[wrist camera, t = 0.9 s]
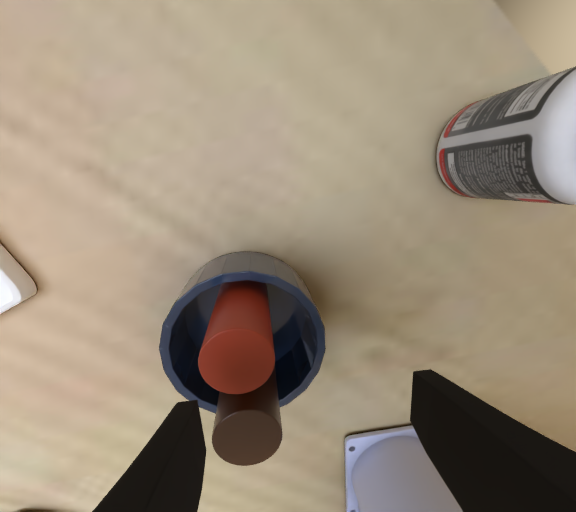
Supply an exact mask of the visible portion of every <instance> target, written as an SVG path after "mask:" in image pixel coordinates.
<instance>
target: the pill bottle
mask: <svg viewBox="0 0 576 512" xmlns="http://www.w3.org/2000/svg"><path fill="white" fill-rule="evenodd" d="M436 159H437V167H438V171H439V174H440V176H441V178H442V180H443V182H444V183H445V184H446V185H447V187H449V188H450V189H451V190H452V191H454V192H455V193H457V194H459V195H462V196H466V197H472V198H486V199H501V200H514V201H528V202H540V203H554V204H568V205H576V67H573V68H570V69H567V70H565V71H562V72H559V73H556V74H553V75H550V76H548V77H545V78H542V79H539V80H536V81H534V82H531V83H528V84H525V85H522V86H519V87H517V88H514V89H511V90H508V91H506V92H503V93H500V94H497V95H494V96H491V97H489V98H486V99H483V100H480V101H477V102H475V103H473V104H470V105H468V106H467V107H465V108H463V109H462V110H460V111H459V112H458V113H457V114H456V115H455V116H454V117H453V118H452V119H451V120H450V121H449V122H448V124H447V125H446V127H445V129H444V130H443V132H442V134H441V137H440V140H439V143H438V147H437V156H436Z"/></svg>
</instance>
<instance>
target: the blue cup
mask: <svg viewBox="0 0 576 512" xmlns="http://www.w3.org/2000/svg"><path fill="white" fill-rule="evenodd" d="M245 280H252V281H257V282H262V283H266V286H267V292H268V301H269V309H270V318H271V327H272V335H273V344H274V353H275V371H276V380H277V389H278V399H279V408H280V407H282V406H284V405H287V404H288V403H290V402H291V401H292V400H293V399H295V398H296V397H297V396H299V395H300V394H301V393H302V392H304V391H305V389H307V387H308V386H309V385H310V383H311V382H312V380H313V379H314V377H315V376H316V375H317V373H318V371H319V369H320V366H321V363H322V360H323V356H324V353H325V349H326V348H325V328H324V325H323V322H322V320H321V318H320V315H319V313H318V310H317V308H316V306H315V304H314V302H313V299H312V297H311V295H310V293H309V291H308V289H307V287H306V285H305V283H304V282H303V281H302V279H301V278H300V276H299V275H298V274H297V273H296V272H295V271H294V270H293V269H292V268H291V267H290V266H289V265H287V264H286V263H284V262H283V261H281V260H279V259H277V258H275V257H273V256H270V255H267V254H263V253H259V252H235V253H230V254H226V255H223V256H220V257H218V258H216V259H214V260H212V261H210V262H209V263H207V264H205V265H204V266H203V267H202V268H200V269H199V270H198V271H197V272H196V273H195V274H194V275H193V277H191V279H190V280H189V282H188V283H187V285H186V286H185V288H184V289H183V291H182V292H181V294H180V296H179V297H178V299H177V300H176V302H175V303H174V305H173V307H172V309H171V310H170V312H169V314H168V316H167V318H166V319H165V321H164V323H163V325H162V332H161V338H160V345H159V350H160V355H161V359H162V364H163V369H164V371H165V373H166V375H167V377H168V378H169V380H170V381H171V383H172V384H173V386H174V387H175V389H176V390H177V391H178V392H179V393H180V394H181V395H183V396H184V397H185V398H186V399H188V400H189V401H192V400H198V406H199V407H200V408H203V409H205V410H208V411H210V412H213V413H215V414H216V410H217V404H218V398H219V392H220V391H218V390H216V389H214V388H212V387H211V386H210V385H209V384H208V383H207V382H206V381H205V380H204V379H203V377H202V375H201V373H200V370H199V366H198V357H199V353H200V350H201V347H202V343H203V340H204V337H205V334H206V331H207V328H208V324H209V321H210V318H211V315H212V312H213V308H214V305H215V302H216V299H217V296H218V293H219V289H220V286H221V284H222V283H226V282H235V281H245Z"/></svg>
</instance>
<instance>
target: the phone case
mask: <svg viewBox="0 0 576 512" xmlns="http://www.w3.org/2000/svg"><path fill="white" fill-rule="evenodd" d="M36 292H37V288H36V285H35V283H34V281H33V280H32V278H31V277H30V276H29V275H28V274H27V272H26V271H25V270H24V269H23V268H22V267H21V266H20V265H19V264H18V262H17V261H16V260H15V259H14V258H13V257H12V256H11V255H10V254H9V252H8V251H7V250H6V249H5V248H4V247H3V246H2V245H1V244H0V314H2V313H4V312H5V311H7V310H9V309H10V308H12V307H14V306H16V305H17V304H19V303H21V302H23V301H24V300H26V299H28V298H30V297H31V296H33V295H35V294H36Z"/></svg>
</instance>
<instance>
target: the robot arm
mask: <svg viewBox="0 0 576 512" xmlns="http://www.w3.org/2000/svg"><path fill="white" fill-rule="evenodd" d="M410 421H411V423H412V425H411V426H405V427H399V428H392V429H386V430H380V431H374V432H367V433H361V434H355V435H349V436H347V437H346V438H345V441H344V442H345V488H346V512H576V452H574V451H572V450H570V449H568V448H566V447H564V446H563V445H561V444H559V443H557V442H555V441H553V440H551V439H549V438H547V437H545V436H544V435H542V434H540V433H538V432H536V431H534V430H533V429H531V428H529V427H527V426H525V425H523V424H522V423H520V422H518V421H516V420H515V419H513V418H511V417H509V416H508V415H506V414H504V413H503V412H501V411H499V410H497V409H496V408H494V407H492V406H491V405H489V404H487V403H486V402H484V401H482V400H481V399H479V398H477V397H476V396H474V395H472V394H471V393H469V392H468V391H466V390H464V389H463V388H461V387H459V386H458V385H456V384H454V383H453V382H451V381H450V380H448V379H446V378H445V377H443V376H441V375H439V374H438V373H436V372H434V371H432V370H431V369H430V370H422V371H414V372H413V385H412V400H411V415H410ZM351 446H352V447H351ZM205 457H206V446H205V441H204V435H203V429H202V423H201V418H200V412H199V406H198V400H192V401H185V402H178V403H177V404H176V405H175V406H174V408H173V409H172V410H171V412H170V413H169V414H168V416H167V417H166V419H165V420H164V421H163V423H162V424H161V426H160V427H159V428H158V430H157V431H156V432H155V434H154V435H153V436H152V438H151V439H150V440H149V442H148V443H147V445H146V446H145V447H144V448H143V450H142V451H141V452H140V454H139V455H138V456H137V458H136V459H135V460H134V461H133V463H132V464H131V465H130V467H129V468H128V469H127V470H126V472H125V473H124V474H123V475H122V477H121V478H120V479H119V480H118V482H117V483H116V484H115V485H114V486H113V488H112V489H111V490H110V491H109V492H108V494H107V495H106V496H105V497H104V498H103V500H102V501H101V502H100V503H99V504H98V506H97V507H96V508H95V509H94V510H93V511H92V512H197V510H198V505H199V500H200V496H201V491H202V484H203V475H204V467H205Z"/></svg>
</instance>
